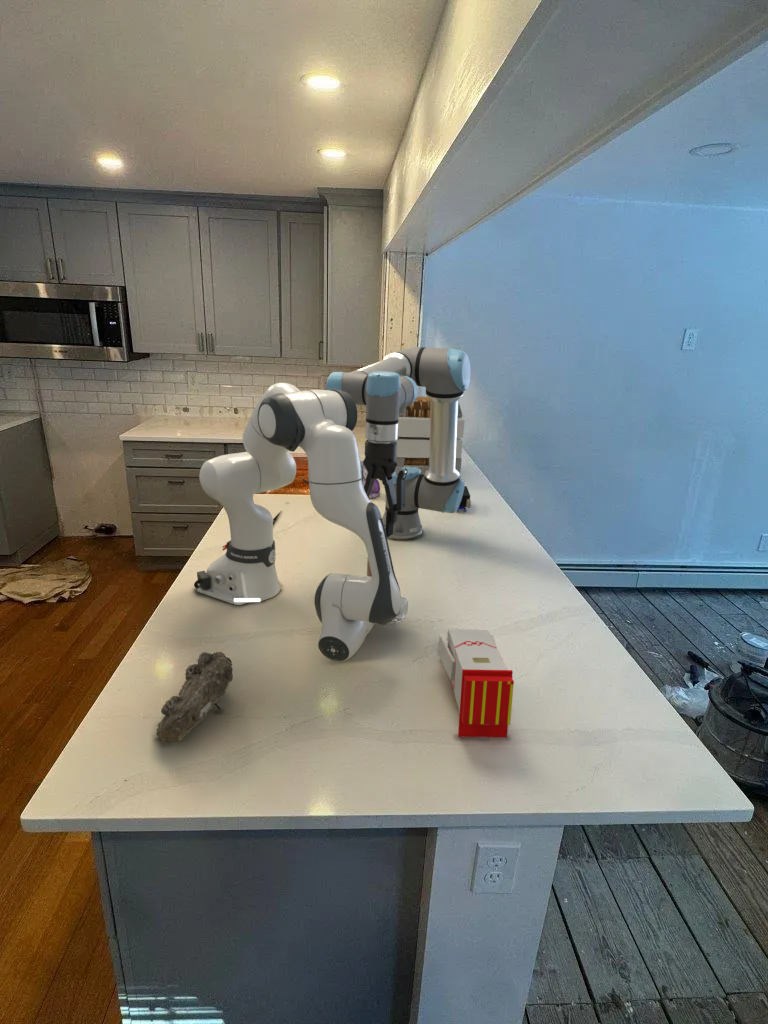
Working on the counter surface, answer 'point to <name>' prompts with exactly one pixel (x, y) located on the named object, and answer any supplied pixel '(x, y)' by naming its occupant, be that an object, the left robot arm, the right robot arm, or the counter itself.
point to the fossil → (195, 695)
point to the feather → (275, 518)
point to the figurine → (376, 485)
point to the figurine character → (465, 500)
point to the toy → (478, 682)
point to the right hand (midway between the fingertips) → (377, 532)
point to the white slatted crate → (421, 435)
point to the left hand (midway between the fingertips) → (375, 588)
